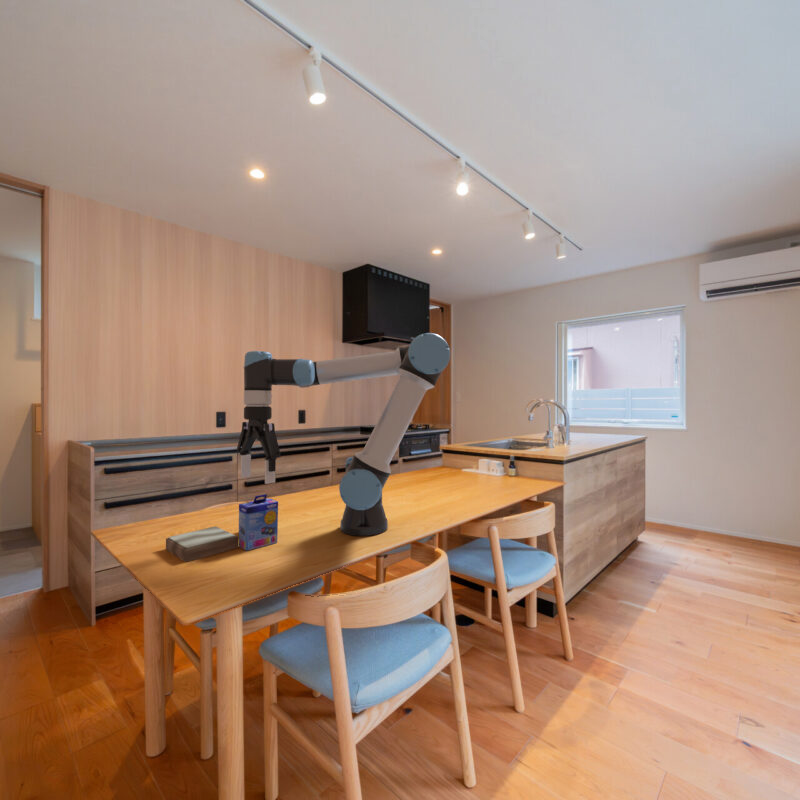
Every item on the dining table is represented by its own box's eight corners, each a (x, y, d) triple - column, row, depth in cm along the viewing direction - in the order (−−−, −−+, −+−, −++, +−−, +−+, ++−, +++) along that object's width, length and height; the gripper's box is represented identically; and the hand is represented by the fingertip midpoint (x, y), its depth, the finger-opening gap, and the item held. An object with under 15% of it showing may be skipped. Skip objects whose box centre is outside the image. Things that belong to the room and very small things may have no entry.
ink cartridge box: (246, 551, 111) (246, 498, 111) (237, 546, 115) (237, 495, 115) (279, 542, 119) (279, 492, 119) (269, 538, 122) (269, 489, 122)
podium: (238, 547, 115) (238, 535, 115) (185, 562, 104) (185, 549, 104) (216, 536, 124) (216, 525, 124) (165, 549, 113) (165, 537, 113)
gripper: (294, 406, 112) (293, 483, 111) (248, 405, 128) (248, 472, 128) (269, 406, 106) (268, 488, 106) (225, 405, 123) (224, 476, 123)
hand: (257, 480), depth 117 cm, fingers open, 13 cm apart
